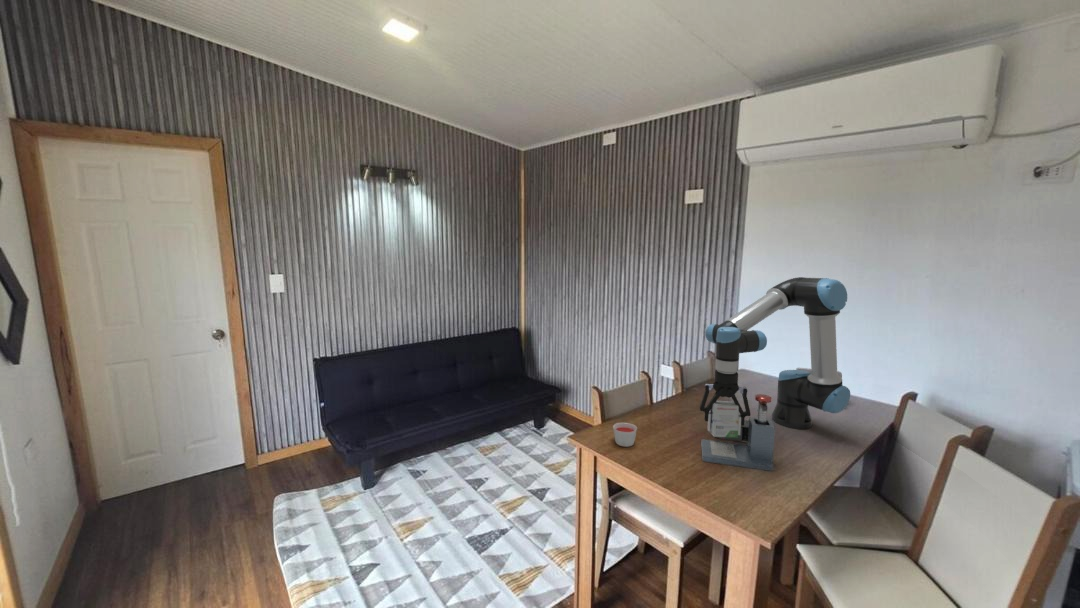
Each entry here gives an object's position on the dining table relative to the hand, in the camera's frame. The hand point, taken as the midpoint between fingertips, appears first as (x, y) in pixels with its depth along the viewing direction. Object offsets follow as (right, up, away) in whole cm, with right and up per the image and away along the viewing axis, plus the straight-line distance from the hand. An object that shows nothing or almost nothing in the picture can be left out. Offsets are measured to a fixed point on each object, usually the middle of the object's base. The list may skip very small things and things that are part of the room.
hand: (723, 431), depth 151 cm
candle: (-33, -8, +12) cm, 36 cm away
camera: (+11, -7, +16) cm, 21 cm away
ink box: (0, -1, 0) cm, 1 cm away
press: (+4, -9, 0) cm, 10 cm away
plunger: (+11, -1, -4) cm, 12 cm away
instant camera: (+72, -1, +60) cm, 94 cm away
